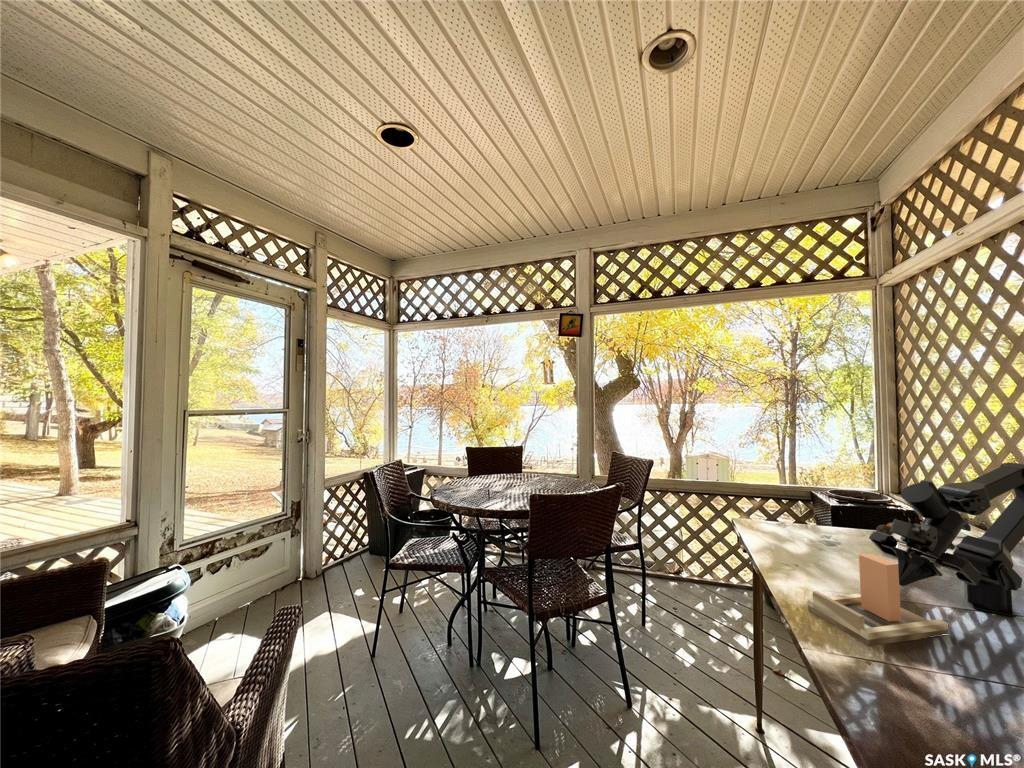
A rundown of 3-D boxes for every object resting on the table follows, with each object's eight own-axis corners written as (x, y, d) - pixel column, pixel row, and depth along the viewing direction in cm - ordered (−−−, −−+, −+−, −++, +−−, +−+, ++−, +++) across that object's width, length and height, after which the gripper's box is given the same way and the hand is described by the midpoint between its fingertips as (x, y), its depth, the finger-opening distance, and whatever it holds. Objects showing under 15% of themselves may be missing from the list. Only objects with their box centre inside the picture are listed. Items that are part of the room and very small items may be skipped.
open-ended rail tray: (878, 601, 98) (877, 581, 98) (948, 635, 84) (947, 610, 84) (807, 609, 95) (806, 588, 95) (868, 645, 81) (867, 620, 82)
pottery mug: (894, 537, 142) (909, 520, 138) (917, 559, 133) (933, 541, 130) (862, 530, 141) (876, 512, 138) (883, 551, 133) (899, 533, 129)
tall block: (872, 606, 93) (869, 553, 94) (901, 620, 87) (898, 564, 88) (861, 607, 93) (858, 554, 93) (889, 621, 87) (886, 565, 87)
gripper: (873, 498, 102) (837, 545, 100) (966, 520, 83) (924, 579, 81) (901, 527, 103) (866, 575, 101) (999, 555, 84) (959, 615, 82)
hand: (899, 584), depth 91 cm, fingers closed
